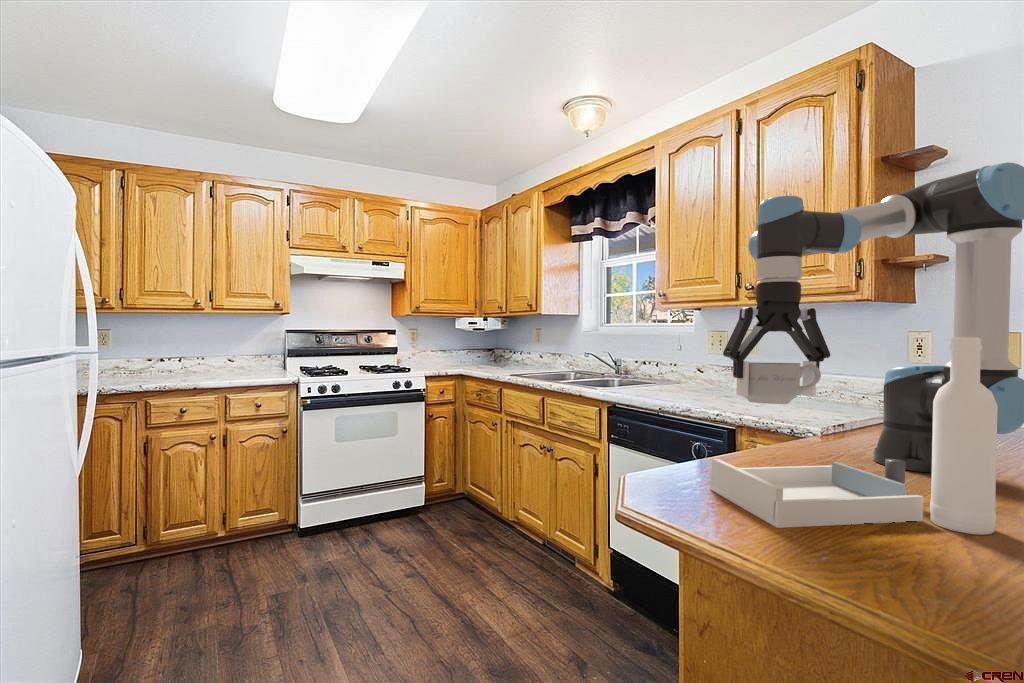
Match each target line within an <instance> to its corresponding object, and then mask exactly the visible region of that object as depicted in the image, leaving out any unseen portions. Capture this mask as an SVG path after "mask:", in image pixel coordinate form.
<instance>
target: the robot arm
mask: <svg viewBox="0 0 1024 683" xmlns="http://www.w3.org/2000/svg"><path fill="white" fill-rule="evenodd" d="M1023 221H1024V166H1023V165H1021V164H1019V163H1015V162H1001V163H997V164H993V165H984V166H982V167H980V168H976V169H973V170H970V171H966V172H962V173H958V174H954V175H952V176H947V177H944V178H940V179H936V180H932V181H929V182H927V183H925V184H922V185H919V186H917V187H914V188H912V189H911V188H910V189H909V190H905V191H903V192H900V193H896V194H892V195H889V196H887V197H885V198H883V199H882V200H881V201H880V202H876V203H871V204H866V205H862V206H858V207H853V208H848V209H843V210H840V211H835V212H834V211H833V212H829V211H827V212H826V211H811V210H805V206H804V200H803V198H802V197H799V196H797V195H779V196H773V197H769V198H766V199H764V200H762V201H761V202H760V204H759V205H758V212H757V222H756V227H757V228H756V231H754V233H752V234H751V236H750V238H749V241H748V251H749V252H748V253H749V255H751V257H752V258H753V260H755V261H756V280H757V281H758V283H757V284H756V286H755V289H756V290H755V301H756V307H755V308H753V307H752V306H750V307H749V306H748V307H740V309H739V317H738V321H737V322H736V325H735V326H734V329H733V331H732V333H731V335H730V337H729V340H728V341H727V344H726V346H725V348H724V350H723V353H722V356H723V357H727V358H729V359H730V360H731V361H732V362H733V363H732V365H733V366H732V376H733V378H736V396H739V397H743V398H745V397H748V385H749V362H750V361H747V360H745V359H746V358H747V357H748V356H749V354H751V352H752V351H753V350H754V349H755V347H756V346H757V344H758V343H759V342H760V341H761V340H762V339H763V337H764V336H765V335H766V334H767V333H769V332H783V333H786V334H788V335H789V336H790V337H791V339H792V340H793V342H794V343H795V344H796V346H797V347H798V348H799V350H800V351H801V353H802V354H803V355H804V356H805V358H806V360H802V366H803V365H806V364H812V365H815V366H817V367H818V368H819V369H820V364H821V363H820V362H823V361H824V360H825V359H828V358H830V357H831V352H830V349H829V347H828V345H827V342H826V341H825V337H824V335H823V333H822V331H821V328H820V326H819V324H818V320H817V310H816V308H814V307H812V308H803V309H801V308H800V306H799V305H800V302H801V300H802V284H801V283H800V282H799V280H801V279H802V278H803V277H802V274H803V271H802V270H803V269H802V266H803V263H802V262H803V261H802V260H803V257H807V256H813V255H819V254H831V255H834V254H845V253H849V252H850V251H853V249H855V247H856V246H857V245H858V244H859V243H860V242H863V241H868V240H872V239H877V238H881V237H888V238H893V239H896V238H901V237H905V236H913V235H926V234H938V233H946V238H947V239H949V240H950V241H951V242H953V243H954V244H955V257H954V258H955V260H954V261H955V263H954V264H955V266H954V267H955V268H954V299H953V301H954V302H953V303H954V304H953V305H954V306H953V308H954V309H953V337H976V338H980V339H981V345H982V349H981V358H980V383H981V384H983V385H984V386H985V387H986V388H987V389H989V390H990V391H991V392H992V394H993V396H994V398H995V401H996V403H997V406H998V407H997V435H1008V434H1010V433H1013V432H1016V431H1017V430H1018V429H1020V428H1021V427H1022V426H1023V425H1024V379H1023V378H1021V377H1019V367H1018V366H1017V365H1016V364H1014V363H1013V361H1010V359H1009V346H1010V344H1009V341H1010V340H1009V336H1010V335H1009V334H1010V310H1011V308H1010V304H1011V302H1010V300H1011V298H1010V297H1011V271H1012V270H1011V267H1012V266H1011V265H1012V241H1013V239H1014V238H1015V237H1017V236H1018V235H1020V233H1021V232H1023ZM755 318H756V320H757V322H756V323H755V324H754V326H753V327H752V330H751V331H750V332H749V334H748V335H747V333H748V330H749V329H750V326H751V324H752V321H753V320H754V319H755ZM798 320H801V322H802V325H803V327H802V326H801V325H800V323H799V321H798ZM803 328H804V330H805V332H804V331H803ZM805 333H806V334H805ZM746 335H747V336H746ZM745 336H746V337H745ZM950 362H951V359H949V361H947V362H945V363H944V364H943V365H912V366H911V365H910V366H896V367H891V368H889V369H887V370H886V371H885V374H884V383H883V413H882V414H883V423H882V424H883V425H882V431H881V434H880V435H879V438H878V442H877V444H876V446H875V447H874V449H873V452H872V453H873V461H874V462H876V463H877V464H881V465H883V466H885V459H897V460H902V461H905V462H906V464H905V471H906V470H907V471H913V472H919V473H931V474H932V433H933V400H934V398H935V395H936V393H937V391H938V389H939V388H941V387H942V386H943V385H945V384H946V383H948V382H949V381H950ZM814 377H815V373H814V371H813V370H811V369H807V370H805V371H804V372H803V375H802V381H801V382H802V384H801V386H803V385H805V384H808V383H809V382H811V381H812V380H813V379H814ZM816 385H817V384H816ZM816 385H814V386H813V387H811V388H809V389H807V390H805V391H804V392H803V393H802V394H801V395H802V396H806V397H807V396H808V397H816V391H817V390H816V388H817V386H816Z"/></svg>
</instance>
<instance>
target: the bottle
mask: <svg viewBox="0 0 1024 683" xmlns="http://www.w3.org/2000/svg"><path fill="white" fill-rule="evenodd" d="M949 349H950V360H951V362H950V381H949V382H948V383H946V384H945V385H943V386H942V387H941V388H939V389H938V391H937V393H936V395H935V398H934V400H933V433H932V473H931V480H930V481H931V484H930V485H931V488H930V501H929V502H930V503H929V511H930V521H931V522H932V523H933V524H934V525H936V526H938V527H941V528H944V529H946V530H949V531H953V532H959V533H963V534H970V535H980V536H985V535H992V533H994V532H995V530H996V529H995V526H996V522H997V521H996V520H997V514H996V513H997V512H996V491H997V490H996V489H997V487H996V486H997V485H996V484H997V482H996V481H997V443H998V442H997V440H998V439H997V438H998V437H997V436H998V434H997V407H998V406H997V403H996V401H995V398H994V396H993V394H992V392H991V391H990V390H989V389H987V388H986V387H985V386H984V385H983V384H981V383H980V358H981V349H982V345H981V339H980V338H976V337H954V336H953V337H951V338H950V344H949Z"/></svg>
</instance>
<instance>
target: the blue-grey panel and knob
mask: <svg viewBox="0 0 1024 683" xmlns="http://www.w3.org/2000/svg"><path fill="white" fill-rule="evenodd" d="M905 464H906V462H905V461H902V460H897V459H885V465H884V476H880V475H878V474H875V473H872V472H868V471H866V470H863V469H861V468H857V467H855V466H850V465H847V464H845V463H841V462H838V461H832V462H831V465H832V483H834V484H836V485H839V486H842V487H844V488H847V489H849V490H852V491H855V492H857V493H860V494H862V495H865V496H868V497H876V496H903V495H907V494H906V493H907V484H906V470H905Z"/></svg>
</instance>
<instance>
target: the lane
mask: <svg viewBox="0 0 1024 683" xmlns="http://www.w3.org/2000/svg"><path fill="white" fill-rule="evenodd" d="M709 472H710V475H709V478H710V479H709V480H710V481H709V489H710V490H711V491H712V492H714V493H716V494H718V495H719V496H721V497H723V498H724V499H726V500H728V501H730V502H731V503H733V504H735V505H737V506H738V507H740V508H741V509H743V510H745V511H747V512H749V513H750V514H752V515H754V516H756V517H757V518H759V519H761V520H762V521H764V522H766V523H768V524H770V525H771V526H773V527H775V528H776V529H778V528H780V529H783V528H784V529H785V528H803V527H807V528H808V527H825V526H827V527H828V526H845V525H846V526H849V525H851V524H852V525H865V524H864V523H873V524H889V523H890V524H891V523H892V522H895V523H907V522H906V521H917V522H923V521H924V501H925V500H924V496H922V495H919V494H911V495H910V494H909V495H908V494H906V495H903V496H876V497H868V496H865V495H862V494H860V493H857V492H855V491H852V490H849V489H847V488H844V487H842V486H839V485H836V484H834V483H832V464H831V465H830V464H828V465H798V466H796V465H795V466H793V465H792V466H762V467H760V466H758V467H756V466H755V467H751V466H750V467H737V466H735V465H733V464H730V463H728V462H726V461H724V460H722V459H719V458H712V459H711V468H710V471H709Z"/></svg>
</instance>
